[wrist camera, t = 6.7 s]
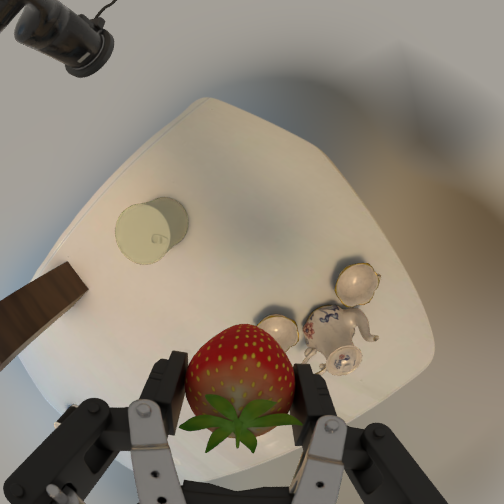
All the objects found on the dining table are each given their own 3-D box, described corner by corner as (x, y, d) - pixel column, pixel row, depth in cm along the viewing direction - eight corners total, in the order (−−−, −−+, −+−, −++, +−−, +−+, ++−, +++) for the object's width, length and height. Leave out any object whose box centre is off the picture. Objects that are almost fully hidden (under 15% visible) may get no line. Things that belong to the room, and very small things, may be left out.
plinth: (67, 261, 52) (-29, 319, 23) (88, 289, 53) (1, 363, 24) (52, 280, 53) (-34, 340, 24) (72, 306, 55) (-7, 378, 26)
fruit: (278, 372, 17) (293, 476, 9) (198, 366, 17) (175, 470, 9) (291, 299, 15) (324, 403, 8) (198, 292, 15) (159, 393, 7)
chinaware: (352, 238, 52) (385, 254, 36) (392, 300, 54) (429, 332, 37) (241, 322, 57) (231, 366, 40) (289, 373, 58) (293, 424, 42)
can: (184, 251, 51) (165, 272, 39) (139, 241, 51) (111, 258, 39) (192, 202, 49) (174, 209, 37) (145, 193, 48) (116, 199, 37)
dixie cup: (92, 419, 66) (79, 442, 55) (74, 415, 66) (61, 436, 55) (81, 403, 63) (67, 426, 53) (64, 399, 64) (49, 420, 53)
